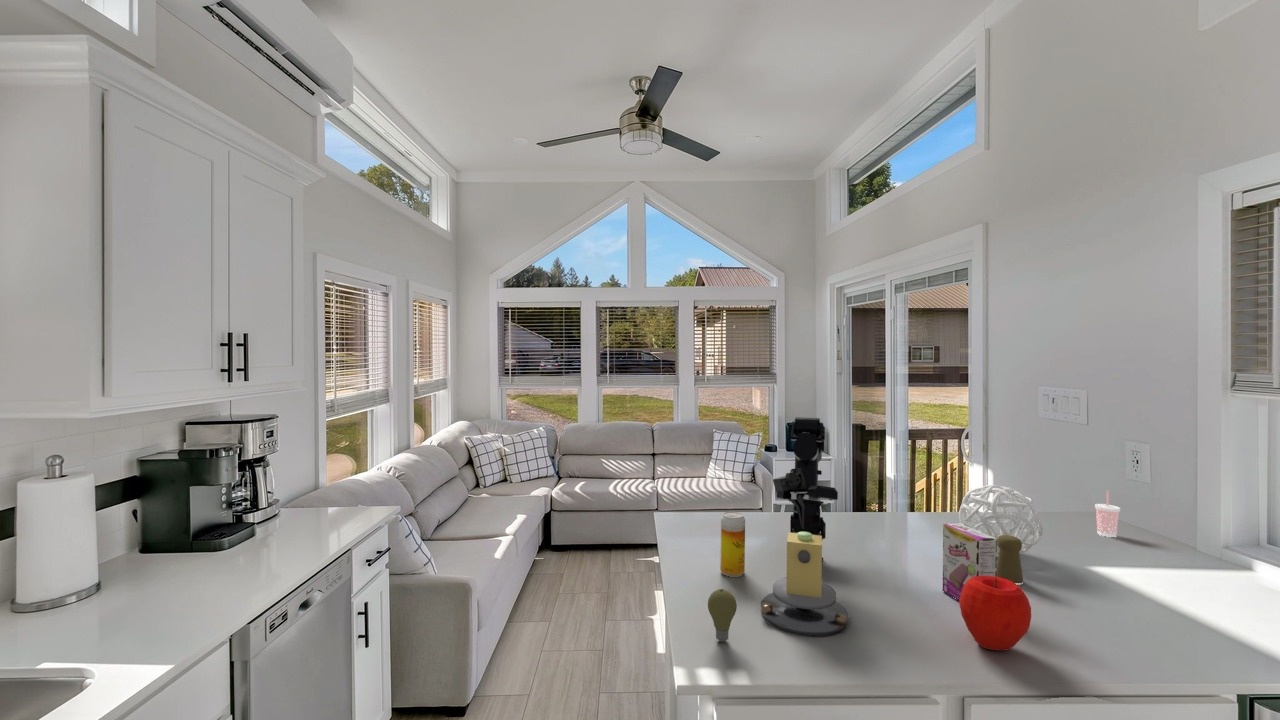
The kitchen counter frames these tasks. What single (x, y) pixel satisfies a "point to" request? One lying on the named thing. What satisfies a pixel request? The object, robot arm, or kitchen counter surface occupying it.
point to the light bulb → (722, 612)
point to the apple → (995, 611)
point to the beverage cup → (1107, 518)
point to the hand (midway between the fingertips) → (805, 529)
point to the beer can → (732, 544)
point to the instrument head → (804, 574)
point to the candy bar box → (966, 556)
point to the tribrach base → (804, 618)
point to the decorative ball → (1019, 505)
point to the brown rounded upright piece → (1009, 558)
